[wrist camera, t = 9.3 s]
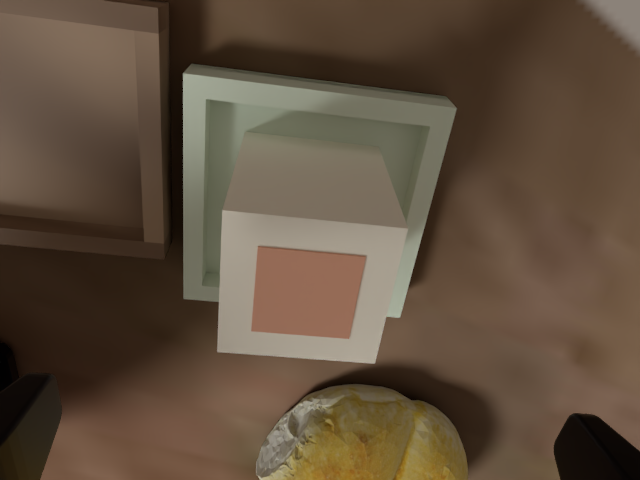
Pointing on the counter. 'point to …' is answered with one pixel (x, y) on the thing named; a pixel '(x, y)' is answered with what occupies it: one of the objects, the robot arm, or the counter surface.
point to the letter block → (308, 250)
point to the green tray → (302, 122)
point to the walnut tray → (86, 126)
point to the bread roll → (362, 439)
